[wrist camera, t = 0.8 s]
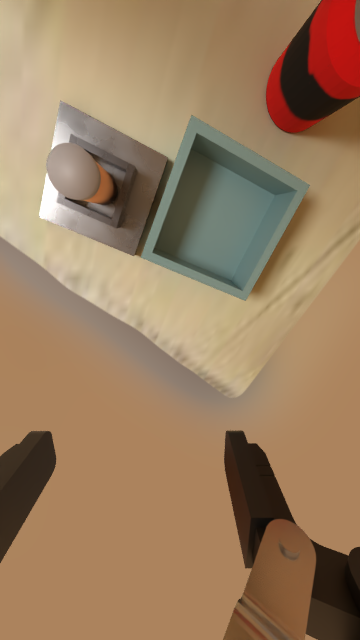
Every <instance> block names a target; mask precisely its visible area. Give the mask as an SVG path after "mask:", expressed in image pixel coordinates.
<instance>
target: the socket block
mask: <svg viewBox="0 0 360 640" xmlns="http://www.w3.org/2000/svg"><path fill="white" fill-rule="evenodd" d="M61 143H73V144H76V145H78V146H80V147H82V148H83V149H84V150H85V151H86V152H88V153H89V154H90V155H91V156H92V157H93V159H94V160H95V161H96V162H97V163H98V164H99V165H100V166H101V167H102V168H103V169H105V170H106V171H107V172H108V173H109V174H110V175H111V176H112V177H113V178H114V180H115V182H116V185H117V195H116V198H115V199H114V201H113V202H111V203H110V204H108V205H100V204H96V203H92V202H88V201H84V200H82V201H80V200H74V199H70V198H67V197H65V196H63V195H62V194H60V193H59V192H58V191H57V190H56V189H55V188H54V186H53V185H52V183H51V182H50V179H49V177H48V174H47V176H46V181H45V187H44V192H43V197H42V203H41V208H40V214H39V217H40V218H43V219H45V220H47V221H50V222H52V223H55V224H57V225H60V226H62V227H64V228H67V229H69V230H72V231H74V232H76V233H79V234H81V235H84V236H86V237H89V238H91V239H93V240H96V241H98V242H101V243H103V244H106V245H108V246H110V247H113V248H115V249H118V250H120V251H123V252H125V253H127V254H130V255H132V256H134V255H135V253H136V250H137V247H138V244H139V241H140V238H141V235H142V232H143V230H144V227H145V224H146V221H147V218H148V215H149V212H150V209H151V206H152V203H153V201H154V198H155V195H156V192H157V189H158V186H159V183H160V180H161V177H162V175H163V172H164V169H165V166H166V163H167V160H168V157H166V156H164V155H162V154H160V153H158V152H156V151H154V150H153V149H151V148H149V147H147V146H145V145H143V144H141V143H139V142H138V141H136V140H134V139H132V138H130V137H128V136H126V135H124V134H123V133H121V132H119V131H117V130H115V129H113V128H111V127H109V126H107V125H106V124H104V123H102V122H100V121H98V120H96V119H94V118H92V117H91V116H89V115H87V114H85V113H83V112H81V111H79V110H77V109H76V108H74V107H72V106H70V105H68V104H66V103H64V102H62V101H61V100H60V105H59V111H58V116H57V121H56V127H55V132H54V138H53V143H52V149H53V148H54V147H55V146H57V145H58V144H61ZM52 149H51V150H52Z"/></svg>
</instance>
